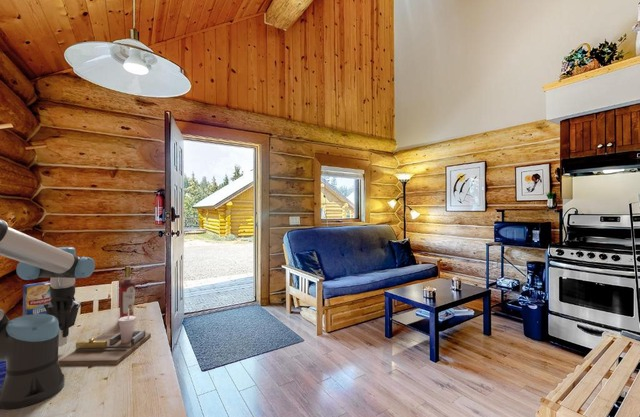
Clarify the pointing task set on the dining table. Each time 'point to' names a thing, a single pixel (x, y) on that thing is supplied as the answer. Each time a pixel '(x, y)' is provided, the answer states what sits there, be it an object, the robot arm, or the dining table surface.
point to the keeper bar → (91, 344)
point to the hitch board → (102, 352)
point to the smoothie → (126, 327)
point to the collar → (136, 337)
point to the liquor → (127, 294)
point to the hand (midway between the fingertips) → (62, 344)
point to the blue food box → (36, 298)
